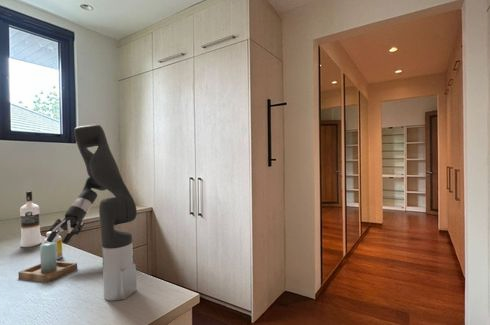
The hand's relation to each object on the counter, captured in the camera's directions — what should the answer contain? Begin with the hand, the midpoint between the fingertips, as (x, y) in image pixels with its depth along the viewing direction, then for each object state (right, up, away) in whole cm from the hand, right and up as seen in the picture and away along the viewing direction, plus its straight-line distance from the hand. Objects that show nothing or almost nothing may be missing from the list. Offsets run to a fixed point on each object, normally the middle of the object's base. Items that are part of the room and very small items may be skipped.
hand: (56, 242), depth 109 cm
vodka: (-39, -12, +34) cm, 53 cm away
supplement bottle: (-11, -12, +13) cm, 20 cm away
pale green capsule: (-1, -11, -3) cm, 11 cm away
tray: (0, -12, -3) cm, 12 cm away
